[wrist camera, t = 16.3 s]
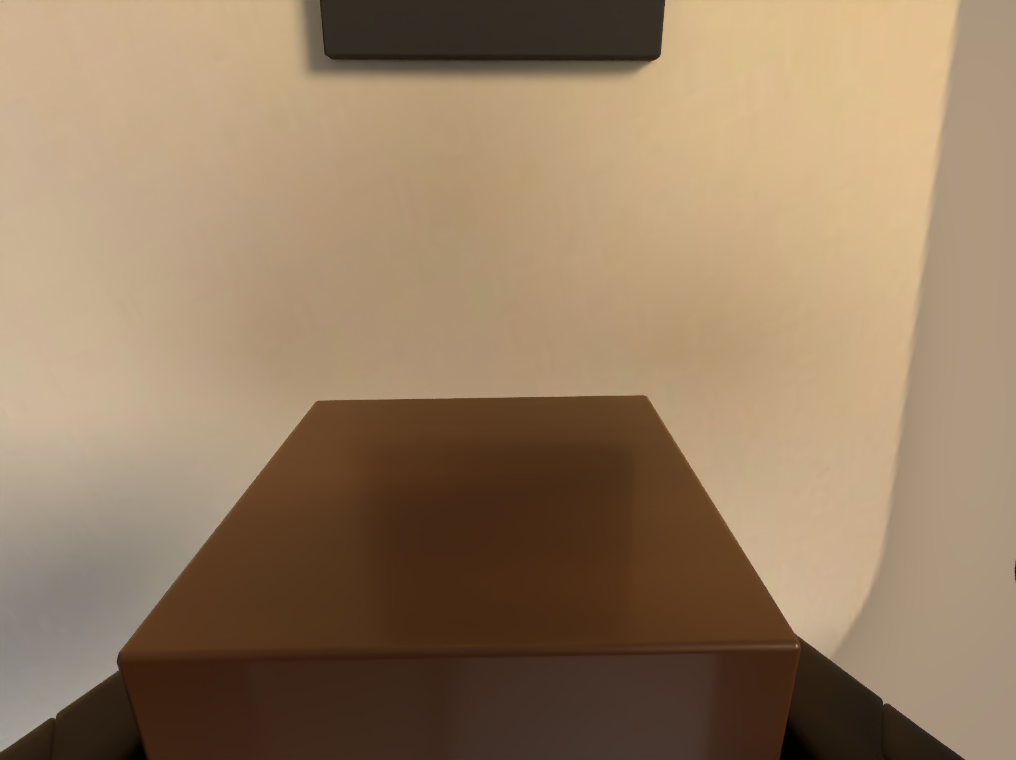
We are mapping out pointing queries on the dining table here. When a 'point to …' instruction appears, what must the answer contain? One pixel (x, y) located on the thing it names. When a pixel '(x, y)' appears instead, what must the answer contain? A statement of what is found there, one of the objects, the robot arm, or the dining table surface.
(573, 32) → the dark mat
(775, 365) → the dining table surface
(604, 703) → the walnut block
